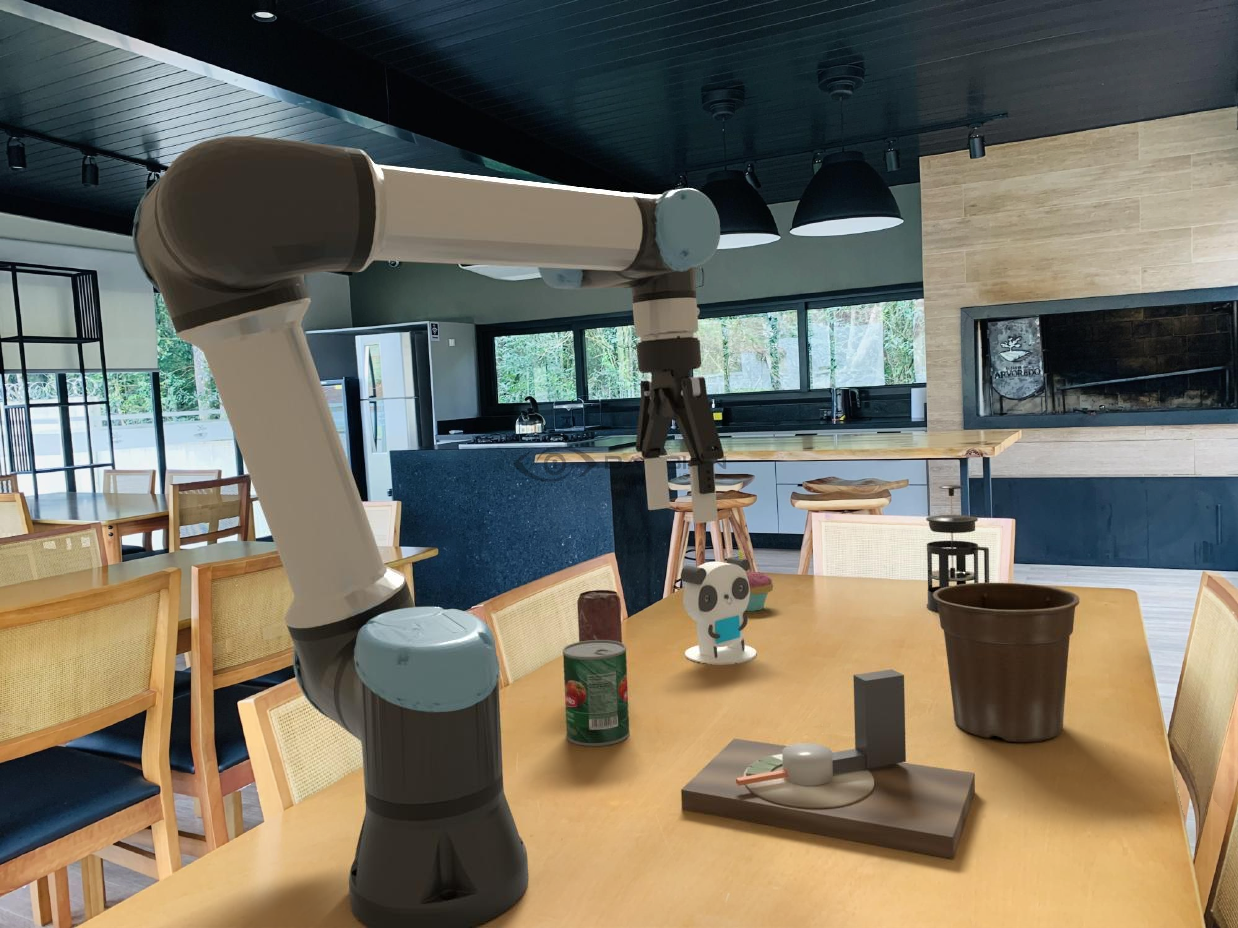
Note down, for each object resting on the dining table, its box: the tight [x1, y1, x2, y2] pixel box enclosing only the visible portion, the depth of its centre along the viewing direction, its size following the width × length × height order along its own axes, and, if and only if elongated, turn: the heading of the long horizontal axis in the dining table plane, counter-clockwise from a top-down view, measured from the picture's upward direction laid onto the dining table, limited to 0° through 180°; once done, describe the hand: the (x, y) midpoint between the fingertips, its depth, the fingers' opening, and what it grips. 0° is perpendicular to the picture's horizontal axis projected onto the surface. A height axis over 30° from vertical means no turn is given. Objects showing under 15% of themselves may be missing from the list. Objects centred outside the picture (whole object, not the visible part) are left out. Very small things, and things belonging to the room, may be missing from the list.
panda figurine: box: [680, 556, 757, 666], centre depth 148 cm, size 12×11×15 cm
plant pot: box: [933, 582, 1080, 743], centre depth 112 cm, size 16×16×16 cm
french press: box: [925, 484, 990, 613], centre depth 171 cm, size 12×9×23 cm
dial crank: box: [736, 668, 907, 786], centre depth 94 cm, size 19×5×9 cm, turn 107°
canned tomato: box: [562, 640, 631, 747], centre depth 115 cm, size 8×8×11 cm
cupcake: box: [737, 546, 774, 612], centre depth 179 cm, size 9×8×12 cm
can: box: [576, 589, 623, 643], centre depth 132 cm, size 6×6×14 cm
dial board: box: [680, 738, 976, 860], centre depth 94 cm, size 15×26×2 cm, turn 62°
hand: (681, 515), depth 112 cm, fingers open, 13 cm apart
